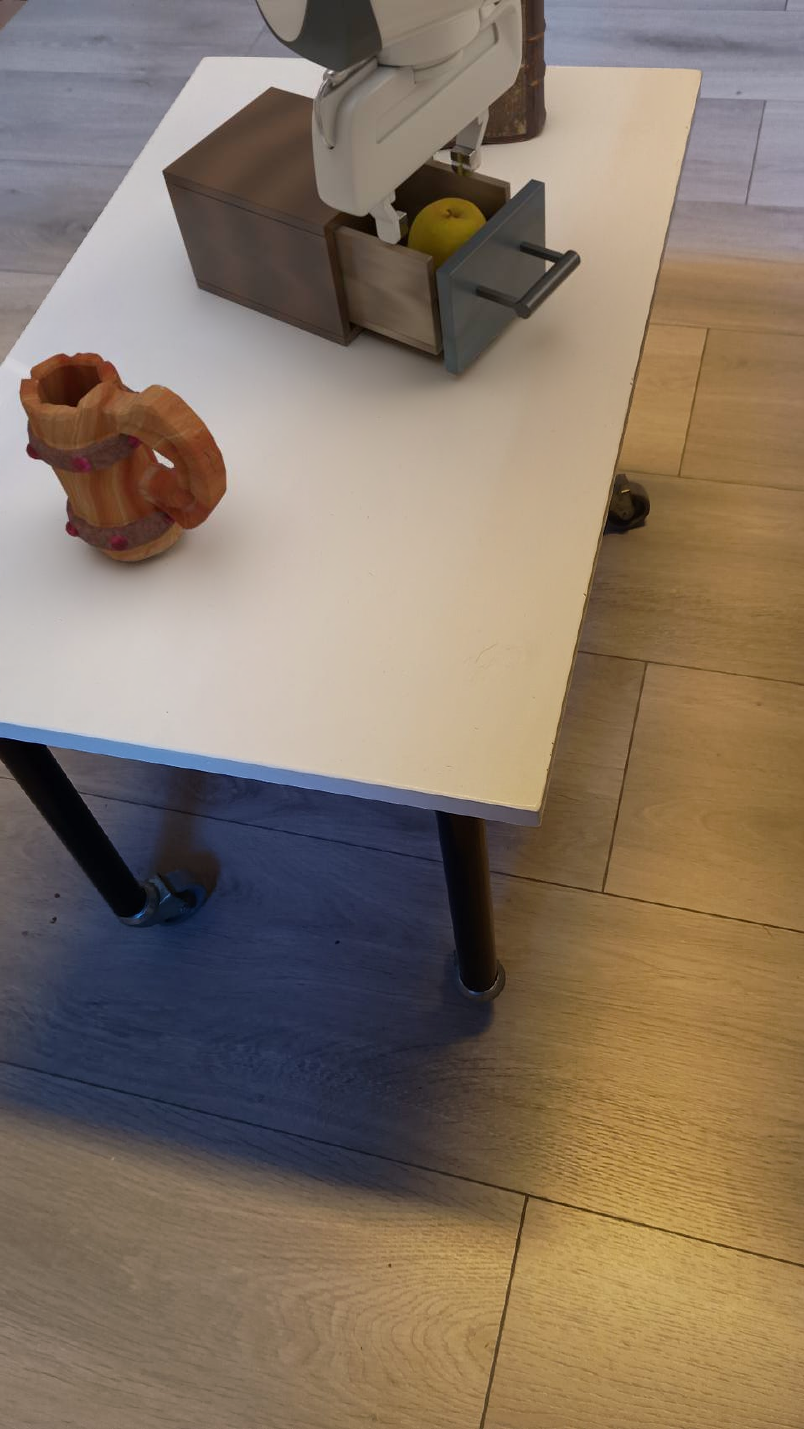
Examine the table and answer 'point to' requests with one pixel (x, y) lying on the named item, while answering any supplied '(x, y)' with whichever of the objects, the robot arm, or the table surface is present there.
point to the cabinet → (263, 217)
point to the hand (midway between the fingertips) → (430, 203)
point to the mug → (121, 455)
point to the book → (521, 86)
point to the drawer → (452, 267)
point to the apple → (444, 229)
